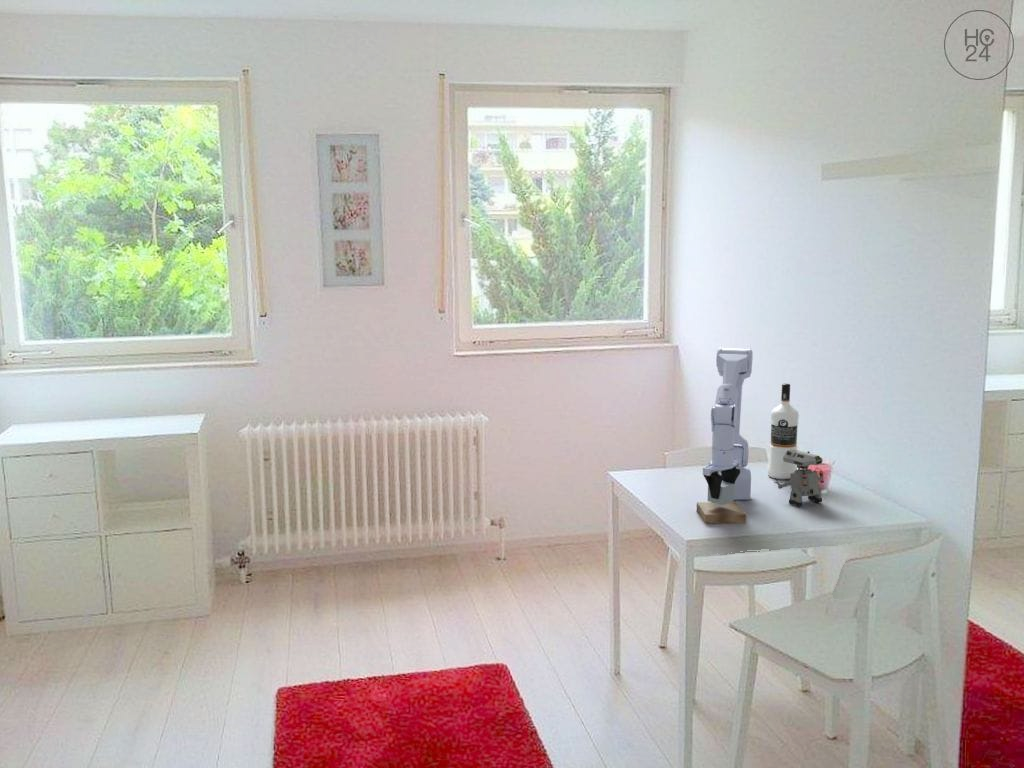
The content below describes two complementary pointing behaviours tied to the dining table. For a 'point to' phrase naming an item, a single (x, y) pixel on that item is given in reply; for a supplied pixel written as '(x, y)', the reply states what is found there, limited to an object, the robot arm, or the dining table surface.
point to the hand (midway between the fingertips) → (721, 496)
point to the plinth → (721, 512)
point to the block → (723, 494)
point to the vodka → (783, 436)
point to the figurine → (803, 477)
